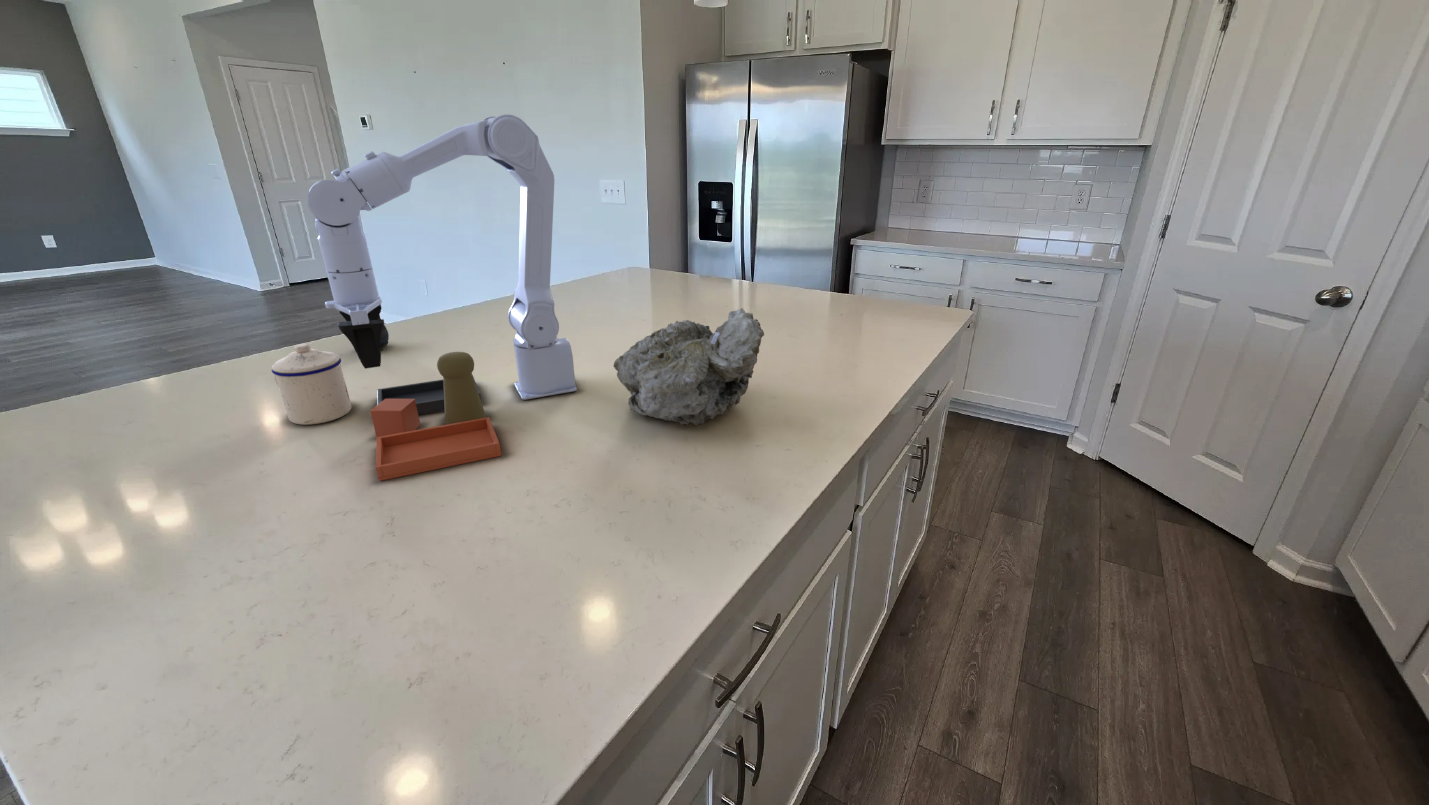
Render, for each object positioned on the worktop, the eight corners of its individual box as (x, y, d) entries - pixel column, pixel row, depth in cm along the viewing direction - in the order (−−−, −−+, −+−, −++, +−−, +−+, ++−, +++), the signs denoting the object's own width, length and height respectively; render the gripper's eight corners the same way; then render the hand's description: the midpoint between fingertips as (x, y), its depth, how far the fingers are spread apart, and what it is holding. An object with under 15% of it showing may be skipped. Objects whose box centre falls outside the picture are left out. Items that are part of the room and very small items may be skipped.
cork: (472, 429, 90) (460, 362, 85) (436, 425, 91) (423, 358, 86) (493, 413, 95) (483, 349, 91) (459, 410, 96) (448, 346, 92)
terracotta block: (376, 438, 87) (369, 410, 85) (391, 425, 91) (385, 398, 89) (406, 438, 87) (400, 410, 85) (420, 425, 91) (414, 398, 89)
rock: (670, 301, 106) (762, 273, 86) (716, 379, 112) (812, 369, 92) (572, 375, 94) (652, 362, 74) (628, 458, 100) (717, 466, 80)
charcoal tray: (474, 385, 106) (472, 374, 105) (481, 404, 98) (480, 393, 98) (380, 399, 100) (377, 388, 99) (379, 421, 92) (377, 410, 91)
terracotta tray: (491, 428, 90) (489, 416, 89) (501, 455, 82) (499, 443, 81) (379, 449, 83) (376, 437, 83) (379, 481, 76) (375, 467, 75)
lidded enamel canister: (366, 406, 97) (349, 339, 92) (318, 429, 89) (296, 357, 84) (311, 397, 100) (292, 332, 96) (259, 419, 92) (235, 349, 88)
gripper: (318, 263, 87) (341, 349, 93) (314, 281, 76) (340, 379, 81) (372, 259, 90) (391, 343, 96) (375, 276, 79) (397, 370, 84)
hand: (371, 359), depth 89 cm, fingers open, 7 cm apart
